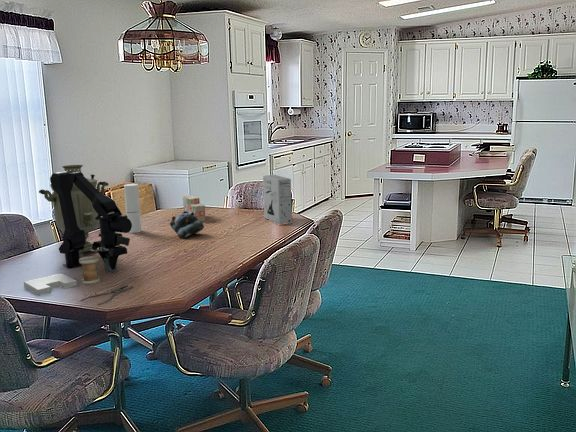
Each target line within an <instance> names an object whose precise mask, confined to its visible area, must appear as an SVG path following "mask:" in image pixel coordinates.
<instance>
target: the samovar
mask: <svg viewBox="0 0 576 432" xmlns="http://www.w3.org/2000/svg"><path fill="white" fill-rule="evenodd" d="M83 166H84V165H83V164H69V165H62V166H61V167H62V168H63V170H64V172H65V171H67V172H69V173H74V172H81V173H82V170H81V169H82V167H83ZM95 176H96V175H95V174H93V173H92V174H90V178H86V177H85V178H86V179H87V180H88V181H89V182H90V183H91V184H92V185H93V186H94V187H95V188H96V189H97V190H98V191H99V192H100V193H101V194H103V195H104V193H105V187H106V186H107V187H108V186H109V182H107V181H98V179H95ZM100 186H101V187H100ZM49 187H50V188H51V190H52V191H53V192H52V193H51V191H50V190H47V189H39V190H38V193H39V194H41V195H44V199H45V200H47V201H48V202H49V203H50V202H51V203H52V205H53V213H54V221H55V226H56V227H57V228H58V229H59V230H61V231H62V232H63V233H64V231H65V225H64V221H63V216H62V211H61V206H60V201H59V197H58V194H57V193H56V192H55V191H54V190H53V188H52V185H51V183H50V186H49ZM71 196H72V201H73V206H74V211H75V215H76V220H77V225H78V227H79V228H80V229H81V230H84V233H85V237H86V239H85V244H84V249H83V250H79V254H80V255H81V254H82V253H83V252H88V251H91V250H92V251H94V252H97V251H99V248H97V250H94V249H92V244H93V243H91V241H89V240H87V239H88V238H89V237H90V236H89V233H90V232H93V231H94V230H95V229H96V228H97V227H98V226H100V222H99V220H95V218H96V217H97V216H98V214H97V212H96V211H95V210H94V208H93V207H92V202H91V201H90V200H89V199H88V198H87V197H86V196H85V195H84V194H83V193H82V192H81V191H80V190H79V189H78V188H77V186H76V185H75V184H74V183H73V188H72V190H71Z"/></svg>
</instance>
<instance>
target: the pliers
mask: <svg viewBox="0 0 576 432" xmlns="http://www.w3.org/2000/svg"><path fill="white" fill-rule="evenodd" d="M128 285H129V284H126V285H123V286H121V287H118V288H115V289H113V290H111V291H108V292H103V293H99V294H98V293H97V294H93V295H90V296H87V297H85V298H82V299H81V300H80V302H83V301H86V300H88V299H92V298H95V297H101V296H107V295H111V294H112V295H111V296H110V298H109V299H107V300H104V301H102V302H99V303H97V306H100V305H103V304H106V303H108V302H110V301H111V300H113V298H115V297H116V296H118V295H119V294H121V293H125V292H127V291H129V290H131V289H133V288H134V285H131V286H128Z"/></svg>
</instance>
